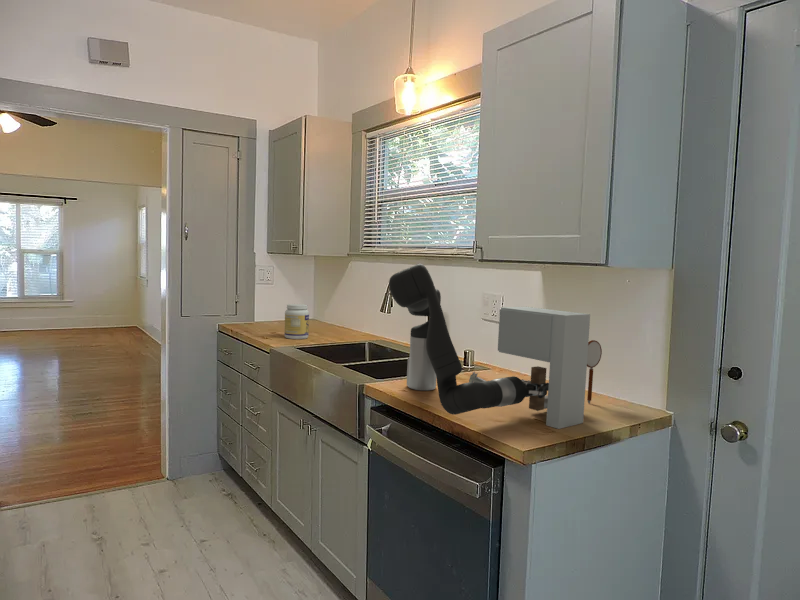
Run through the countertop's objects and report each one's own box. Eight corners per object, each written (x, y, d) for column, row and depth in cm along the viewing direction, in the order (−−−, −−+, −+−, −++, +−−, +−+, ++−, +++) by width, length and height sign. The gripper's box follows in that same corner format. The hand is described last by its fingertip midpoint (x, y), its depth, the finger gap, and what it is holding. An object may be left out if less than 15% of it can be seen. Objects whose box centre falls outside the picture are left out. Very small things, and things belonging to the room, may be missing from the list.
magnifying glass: (582, 405, 178) (586, 341, 176) (578, 404, 179) (582, 340, 178) (599, 402, 183) (604, 339, 181) (595, 401, 184) (599, 339, 183)
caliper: (468, 390, 194) (469, 371, 194) (470, 389, 195) (471, 371, 195) (518, 402, 179) (520, 382, 179) (520, 402, 180) (522, 382, 180)
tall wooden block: (528, 408, 166) (531, 367, 166) (546, 405, 171) (548, 365, 170) (537, 410, 164) (539, 368, 163) (554, 407, 169) (557, 366, 168)
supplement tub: (309, 339, 290) (310, 306, 289) (284, 339, 287) (285, 305, 286) (307, 336, 302) (308, 304, 300) (284, 335, 299) (284, 303, 298)
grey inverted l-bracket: (494, 409, 169) (499, 307, 166) (520, 404, 176) (526, 306, 174) (557, 429, 152) (564, 315, 149) (583, 422, 159) (590, 314, 156)
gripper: (525, 383, 151) (565, 376, 162) (486, 373, 162) (526, 368, 173) (523, 411, 152) (564, 403, 162) (484, 399, 163) (524, 392, 173)
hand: (544, 385), depth 168 cm, fingers closed on tall wooden block, 3 cm apart
